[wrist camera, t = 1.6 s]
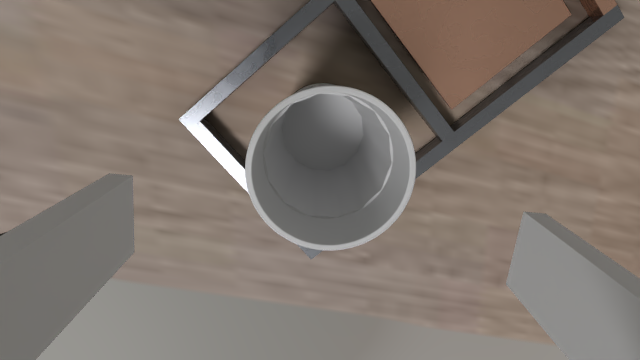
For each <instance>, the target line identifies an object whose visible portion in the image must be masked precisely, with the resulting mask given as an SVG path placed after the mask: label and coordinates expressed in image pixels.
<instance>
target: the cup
mask: <svg viewBox="0 0 640 360" xmlns="http://www.w3.org/2000/svg"><path fill="white" fill-rule="evenodd" d="M245 177H246V184H247V189H248V192H249V195H250V198H251V200H252V203H253V205H254V207H255V209H256V210H257V212H258V213H259V215H260V216H261V218H262V219H263V220H264V221H265V222H266V223H267V225H268V226H269V227H270V228H272V229H273V230H274V231H275V232H276V233H278V234H279V235H280V236H282V237H284V238H285V239H287V240H289V241H291V242H293V243H295V244H298V245H300V246H303V247H307V248H311V249H316V250H342V249H348V248H352V247H355V246H358V245H361V244H364V243H366V242H368V241H370V240H372V239H374V238H375V237H377V236H379V235H380V234H381V233H383V232H384V231H385V230H387V229H388V228H389V227H390V226H391V225H392V224H393V223H394V222H395V221H396V220H397V218H398V217H399V216H400V214H401V213H402V212H403V210H404V208H405V207H406V205H407V203H408V201H409V199H410V196H411V194H412V191H413V187H414V183H415V177H416V157H415V151H414V147H413V143H412V140H411V137H410V135H409V133H408V131H407V129H406V127H405V125H404V124H403V122H402V121H401V119H400V118H399V117H398V116H397V114H396V113H395V112H394V111H393V110H392V109H391V108H390V107H389V106H387V105H386V104H385V103H384V102H382V101H381V100H379V99H378V98H376V97H374V96H373V95H371V94H369V93H366V92H364V91H361V90H358V89H355V88H351V87H345V86H337V85H333V84H328V83H317V84H311V85H308V86H306V87H303V88H301V89H300V90H298V91H297V92H295V93H294V94H293V95H291V96H289V97H287V98H286V99H284V100H283V101H281V102H280V103H278V104H277V105H276V106H275V107H273V108H272V109H271V110H270V111H269V112H268V113H267V114H266V115H265V117H264V118H263V119H262V120H261V122H260V123H259V125H258V126H257V128H256V130H255V131H254V133H253V136H252V138H251V140H250V143H249V146H248V150H247V154H246V161H245Z"/></svg>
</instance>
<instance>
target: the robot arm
mask: <svg viewBox="0 0 640 360" xmlns="http://www.w3.org/2000/svg"><path fill="white" fill-rule="evenodd" d="M133 253H134V209H133V176H132V175H121V174H110V173H109V174H107V175H106V176H104V177H102V178H100V179H99V180H97V181H95V182H93V183H92V184H90V185H88V186H87V187H85V188H83V189H81V190H80V191H78V192H76V193H74V194H73V195H71V196H69V197H67V198H66V199H64V200H62V201H60V202H59V203H57V204H55V205H54V206H52V207H50V208H48V209H47V210H45V211H43V212H41V213H40V214H38V215H36V216H34V217H33V218H31V219H29V220H27V221H26V222H24V223H22V224H21V225H19V226H17V227H15V228H14V229H12V230H10V231H8V232H5V233H2V234H0V360H36V359H37V358H38V357H39V355H40V354H41V353H42V352H43V351H44V350H45V349H46V348H47V347H48V346H49V345H50V343H51V342H52V341H53V340H54V339H55V338H56V337H57V336H58V335H59V334H60V333H61V332H62V330H63V329H64V328H65V327H66V326H67V325H68V324H69V323H70V322H71V321H72V320H73V318H74V317H75V316H76V315H77V314H78V313H79V312H80V311H81V310H82V309H83V308H84V306H85V305H86V304H87V303H88V302H89V301H90V300H91V299H92V297H94V296H95V294H96V293H97V292H98V291H99V290H100V289H101V288H102V287H103V286H104V284H106V282H107V281H108V280H109V279H110V278H111V277H112V276H113V275H114V274H115V273H116V272H117V270H118V269H119V268H120V267H121V266H122V265H123V264H124V263H125V262H126V261H127V260H128V258H129V257H130V256H131V255H132V254H133ZM506 285H507V286H508V287H509V288H510V289H511V291H512V292H513V293H514V294H515V295H516V297H517V298H518V299H519V300H520V301H521V303H522V304H523V305H524V306H525V307H526V309H527V310H528V311H529V312H530V313H531V315H532V316H533V317H534V318H535V319H536V321H537V322H538V323H539V324H540V325H541V327H542V328H543V329H544V330H545V332H546V333H547V334H548V335H549V336H550V338H551V339H552V340H553V341H554V342H555V344H556V345H557V346H558V347H559V348H560V350H561V351H562V352H563V353H564V354H565V356H566V357H567V358H568V359H569V360H640V279H639V278H638V277H637V276H635V275H634V274H632V273H631V272H629V271H628V270H626V269H625V268H624V267H622V266H621V265H619V264H618V263H616V262H615V261H613V260H612V259H611V258H609V257H608V256H606V255H605V254H603V253H602V252H600V251H599V250H597V249H596V248H595V247H593V246H592V245H590V244H589V243H587V242H586V241H584V240H583V239H582V238H580V237H579V236H577V235H576V234H574V233H573V232H571V231H570V230H568V229H567V228H566V227H564V226H563V225H561V224H560V223H558V222H557V221H555V220H554V219H553V218H551V217H550V216H548V215H547V214H543V213H532V212H523V216H522V221H521V225H520V229H519V233H518V237H517V241H516V245H515V249H514V253H513V257H512V262H511V266H510V270H509V274H508V278H507V282H506Z"/></svg>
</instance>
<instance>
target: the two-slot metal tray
mask: <svg viewBox="0 0 640 360" xmlns="http://www.w3.org/2000/svg"><path fill="white" fill-rule="evenodd" d="M371 2H372V3H373V4H374V6H375V7H376V8H377V10H378V11H379V13H380V14H381V15H382V17H383V18H384V19H385V21H386V22H387V23H388V25H389V26H390V27H391V29H392V30H393V31H394V33H395V34H396V35H397V37H398V38H399V40H400V41H401V42H402V44H403V45H404V46H405V48H406V49H407V50H408V52H409V53H410V54H411V56H412V57H413V58H414V60H415V61H416V62H417V64H418V65H419V67H420V68H421V69H422V71H423V72H424V73H425V75H426V76H427V77H428V79H429V80H430V81H431V83H432V84H433V85H434V87H435V88H436V89H437V91H438V92H439V94H440V95H441V96H442V98H443V99H444V100H445V102H446V103H447V104H448V106H449V107H450V108H451V109H453V108H454V107H455V106H457V105H458V104H459V103H461V102H462V101H463V100H464V99H466V98H467V97H468V96H469V95H471V94H472V93H473V92H474V91H476V90H477V89H478V88H479V87H481V86H482V85H483V84H485V83H486V82H487V81H488V80H490V79H491V78H492V77H493V76H495V75H496V74H497V73H498V72H500V71H501V70H502V69H503V68H505V67H506V66H507V65H509V64H510V63H511V62H512V61H514V60H515V59H516V58H517V57H519V56H520V55H521V54H522V53H524V52H525V51H526V50H527V49H529V48H530V47H531V46H532V45H534V44H535V43H536V42H538V41H539V40H540V39H541V38H543V37H544V36H545V35H546V34H548V33H549V32H550V31H551V30H553V29H554V28H555V27H556V26H558V25H559V24H560V23H562V22H563V21H564V20H565V19H567V18H568V17H569V16H570V15H571V13H570V11H569V10H568V8H567V6H566V5H565V3H564V2H563V0H371ZM580 2H581V3H582V5H583V7H584V8H585V10H586V12H587V13H588V15H589V18H587V19H586V20H585V21H584V22H582V23H581V24H580V25H579V26H577V27H576V28H575V29H573V30H572V31H571V32H570V33H568V34H567V35H566V36H564V37H563V38H562V39H561V40H559V41H558V42H557V43H556V44H554V45H553V46H552V47H550V48H549V49H548V50H547V51H545V52H544V53H543V54H542V55H540V56H539V57H538V58H536V59H535V60H534V61H533V62H531V63H530V64H529V65H528V66H526V67H525V68H524V69H522V70H521V71H520V72H519V73H517V74H516V75H515V76H514V77H512V78H511V79H510V80H508V81H507V82H506V83H505V84H503V85H502V86H501V87H500V88H498V89H497V90H496V91H494V92H493V93H492V94H491V95H489V96H488V97H487V98H486V99H484V100H483V101H482V102H480V103H479V104H478V105H477V106H475V107H474V108H473V109H471V110H470V111H469V112H468V113H466V114H465V115H464V116H463V117H461V118H460V119H459V120H457V121H456V122H455V123H454V124H452V125H451V126H449V124H448V123H447V122H446V120H445V119H444V118H443V116H442V115H441V114H440V112H439V111H438V110H437V108H436V107H435V106H434V104H433V103H432V102H431V101H430V99H429V98H428V97H427V95H426V94H425V93H424V91H423V90H422V89H421V87H420V86H419V85H418V83H417V82H416V81H415V79H414V78H413V77H412V75H411V74H410V73H409V71H408V70H407V69H406V67H405V66H404V65H403V63H402V62H401V61H400V59H399V58H398V57H397V55H396V54H395V53H394V51H393V50H392V49H391V47H390V46H389V45H388V43H387V42H386V41H385V39H384V38H383V37H382V35H381V34H380V33H379V31H378V30H377V29H376V27H375V26H374V25H373V23H372V22H371V21H370V19H369V18H368V17H367V15H366V14H365V13H364V11H363V10H362V9H361V7H360V6H359V5H358V3H357V2H356V1H355V0H310V1H309V2H308V3H307V4H306V5H305V6H304V7H303V8H301V9H300V10H299V11H298V12H297V13H296V14H295V15H294V16H293V17H292V18H290V19H289V20H288V21H287V22H286V23H285V24H284V25H283V26H282V27H280V28H279V29H278V30H277V31H276V32H275V33H274V34H273V35H272V36H270V37H269V38H268V39H267V40H266V41H265V42H264V43H263V44H262V45H261V46H259V47H258V48H257V49H256V50H255V51H254V52H253V53H252V54H251V55H249V56H248V57H247V58H246V59H245V60H244V61H243V62H242V63H241V64H239V65H238V66H237V67H236V68H235V69H234V70H233V71H232V72H231V73H229V74H228V75H227V76H226V77H225V78H224V79H223V80H222V81H221V82H220V83H218V84H217V85H216V86H215V87H214V88H213V89H212V90H211V91H210V92H208V93H207V94H206V95H205V96H204V97H203V98H202V99H201V100H200V101H198V102H197V103H196V104H195V105H194V106H193V107H192V108H191V109H190V110H189V111H187V112H186V113H185V114H184V115H183V116H182V117H181V118H180V119H179V120H180V121H181V122H182V123H183V124H184V125H185V127H186V128H187V129H188V130H189V131H190V132H191V133H192V134H193V135H194V136H195V137H196V138H197V139H198V140H199V141H200V142H201V143H202V145H203V146H204V147H205V148H206V149H207V150H208V151H209V152H210V153H211V154H212V155H213V156H214V157H215V158H216V159H217V160H218V161H219V162H220V164H221V165H222V166H223V167H224V168H225V169H226V170H227V171H228V172H229V173H230V174H231V175H232V176H233V177H234V178H235V179H236V180H237V182H238V183H239V184H240V185H241V186H242V187H243V188H244V189H245V190H246V191H247V192H248V189H247V184H246V177H245V161H244V160H243V159H242V158H241V157H240V155H239V154H238V153H237V152H236V151H235V150H234V149H233V148H232V147H231V146H230V145H229V144H228V142H227V141H226V140H225V139H224V138H223V137H222V136H221V135H220V134H219V133H218V132H217V131H216V129H215V128H214V127H213V126H212V125H211V124H210V123H209V122H208V121H207V120H206V119H205V117H206V116H207V115H208V114H209V113H210V112H211V111H213V110H214V109H215V108H216V107H217V106H218V105H219V104H220V103H222V102H223V101H224V100H225V99H226V98H227V97H228V96H229V95H231V94H232V93H233V92H234V91H235V90H236V89H237V88H238V87H240V86H241V85H242V84H243V83H244V82H245V81H246V80H247V79H248V78H250V77H251V76H252V75H253V74H254V73H255V72H256V71H257V70H259V69H260V68H261V67H262V66H263V65H264V64H265V63H266V62H268V61H269V60H270V59H271V58H272V57H273V56H274V55H275V54H277V53H278V52H279V51H280V50H281V49H282V48H283V47H284V46H286V45H287V44H288V43H289V42H290V41H291V40H292V39H293V38H294V37H296V36H297V35H298V34H299V33H300V32H301V31H302V30H303V29H305V28H306V27H307V26H308V25H309V24H310V23H311V22H312V21H314V20H315V19H316V18H317V17H318V16H319V15H320V14H321V13H323V12H324V11H325V10H326V9H327V8H328V7H329V6H330V5H331V4H333V3H334V4H335V5H336V6H337V8H338V9H339V10H340V12H341V13H342V14H343V16H344V17H345V18H346V19H347V21H348V22H349V23H350V25H351V26H352V27H353V29H354V30H355V31H356V33H357V34H358V35H359V36H360V38H361V39H362V40H363V42H364V43H365V44H366V46H367V47H368V48H369V49H370V51H371V52H372V53H373V55H374V56H375V57H376V59H377V60H378V61H379V63H380V64H381V65H382V66H383V68H384V69H385V70H386V72H387V73H388V74H389V76H390V77H391V78H392V79H393V81H394V82H395V83H396V85H397V86H398V87H399V89H400V90H401V91H402V92H403V94H404V95H405V96H406V98H407V99H408V100H409V102H410V103H411V104H412V106H413V107H414V108H415V109H416V111H417V112H418V113H419V115H420V116H421V117H422V119H423V120H424V121H425V122H426V124H427V125H428V126H429V128H430V129H431V130H432V132H433V133H434V134H435V136H436V138H435V139H433V140H432V141H431V142H429V143H428V144H427V145H426V146H424V147H423V148H422V149H421V150H419V151H418V152H417V153H415V157H416V177H415V179H416V178H417V177H419V176H420V175H421V174H422V173H424V172H425V171H426V170H428V169H429V168H430V167H431V166H433V165H434V164H435V163H437V162H438V161H439V160H441V159H442V158H443V157H444V156H446V155H447V154H448V153H450V152H451V151H452V150H453V149H455V148H456V147H457V146H459V145H460V144H461V143H463V142H464V141H465V140H466V139H468V138H469V137H470V136H472V135H473V134H474V133H475V132H477V131H478V130H479V129H481V128H482V127H483V126H485V125H486V124H487V123H488V122H490V121H491V120H492V119H494V118H495V117H496V116H497V115H499V114H500V113H501V112H503V111H504V110H505V109H507V108H508V107H509V106H510V105H512V104H513V103H514V102H516V101H517V100H518V99H519V98H521V97H522V96H523V95H525V94H526V93H527V92H529V91H530V90H531V89H532V88H534V87H535V86H536V85H538V84H539V83H540V82H541V81H543V80H544V79H545V78H547V77H548V76H549V75H551V74H552V73H553V72H554V71H556V70H557V69H558V68H560V67H561V66H562V65H563V64H565V63H566V62H567V61H569V60H570V59H571V58H573V57H574V56H575V55H576V54H578V53H579V52H580V51H582V50H583V49H584V48H585V47H587V46H588V45H589V44H591V43H592V42H593V41H595V40H596V39H597V38H598V37H600V36H601V35H602V34H604V33H605V32H606V31H607V30H609V29H610V28H611V27H613V26H614V25H615V24H617V23H618V22H619V21H620V20H622V19H623V18H624V16H623V14H622V12H621V11H620V9H619V7H618V5H617V4H616V2H615V0H580ZM248 193H249V192H248ZM297 245H298V244H297ZM298 246H299V247H300V248H301V249H302V250H303V251H304V252H305V253H306V254H307V256H308V257H309V258H310V259H312V258H314V257H315V256H316V255H318V254H319V253H320V252H321V251H323V250H316V249H311V248H307V247H303V246H300V245H298Z"/></svg>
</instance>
